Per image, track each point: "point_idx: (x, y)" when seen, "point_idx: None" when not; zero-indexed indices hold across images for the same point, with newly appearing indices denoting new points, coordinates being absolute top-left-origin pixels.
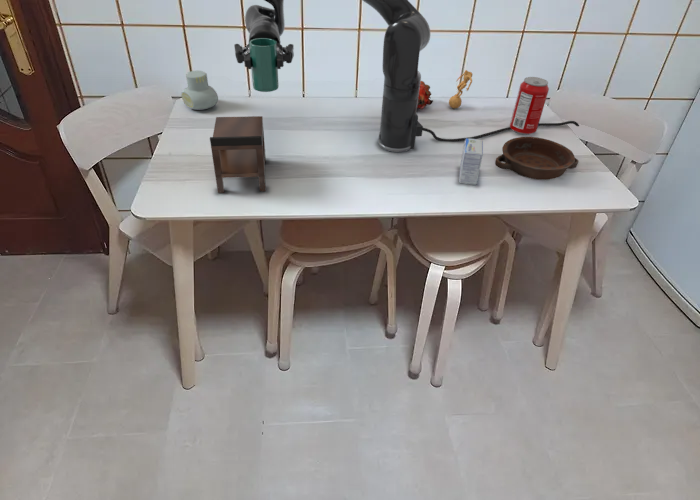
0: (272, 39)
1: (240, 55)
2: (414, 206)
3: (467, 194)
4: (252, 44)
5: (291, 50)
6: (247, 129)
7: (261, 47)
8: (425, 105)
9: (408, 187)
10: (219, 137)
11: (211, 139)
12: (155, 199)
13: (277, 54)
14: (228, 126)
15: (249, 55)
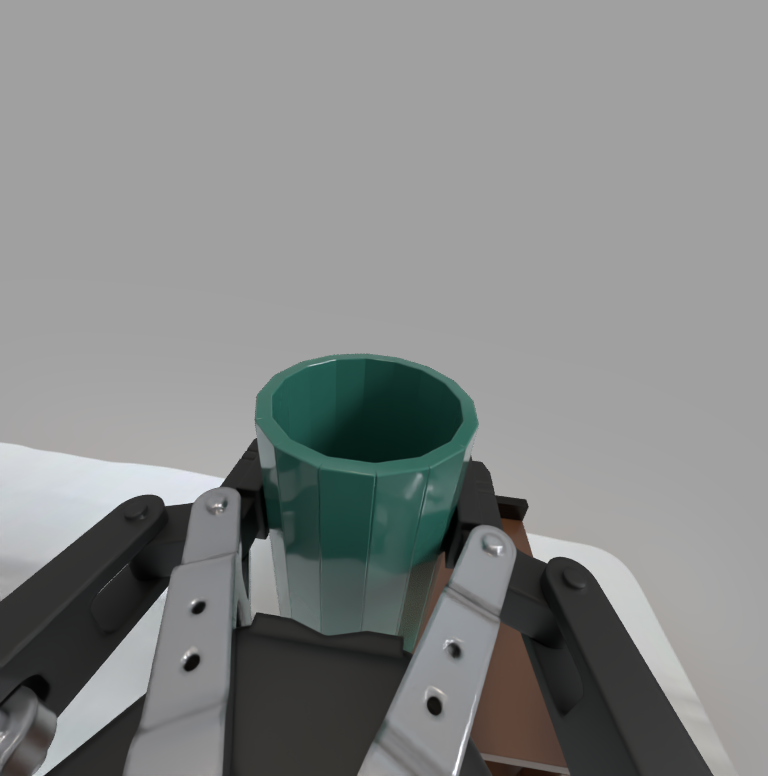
0: (264, 430)
1: (544, 567)
2: (136, 475)
3: (4, 483)
4: (446, 380)
5: (82, 535)
6: (434, 594)
7: (388, 360)
8: None
9: (78, 526)
10: (503, 500)
11: (521, 499)
12: (614, 595)
13: (258, 482)
14: (506, 634)
15: (463, 492)
